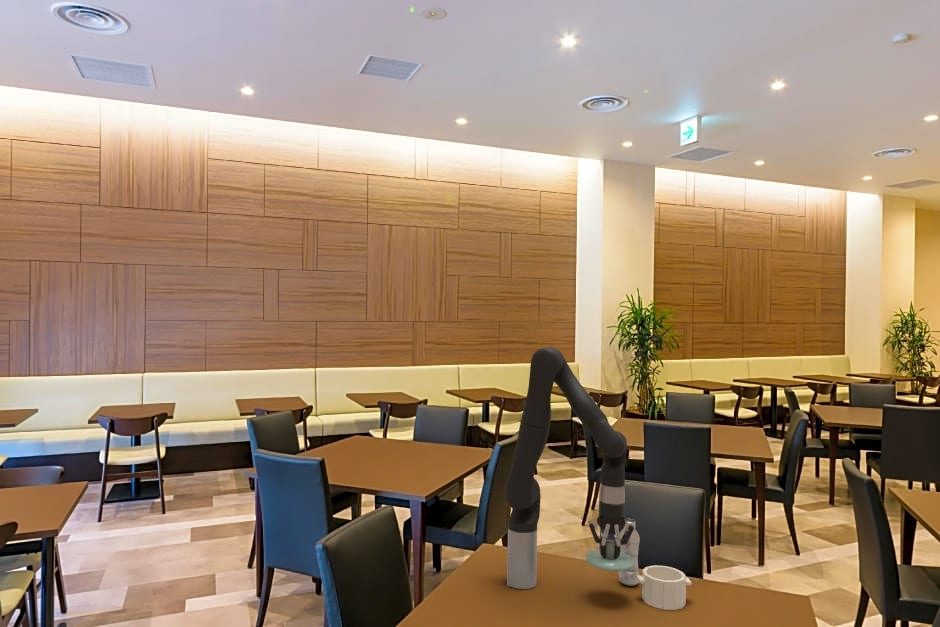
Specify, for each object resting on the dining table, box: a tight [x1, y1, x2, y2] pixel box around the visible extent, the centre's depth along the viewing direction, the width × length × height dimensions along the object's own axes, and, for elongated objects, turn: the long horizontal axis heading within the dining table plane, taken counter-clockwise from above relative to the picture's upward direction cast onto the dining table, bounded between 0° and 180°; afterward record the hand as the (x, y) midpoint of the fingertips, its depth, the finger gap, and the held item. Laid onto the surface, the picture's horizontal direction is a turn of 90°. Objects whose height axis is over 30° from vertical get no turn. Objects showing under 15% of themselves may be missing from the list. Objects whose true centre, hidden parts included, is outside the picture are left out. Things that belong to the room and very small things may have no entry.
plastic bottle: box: [618, 518, 641, 587], centre depth 193 cm, size 6×7×20 cm
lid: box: [585, 539, 634, 572], centre depth 182 cm, size 14×14×6 cm
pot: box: [637, 564, 693, 611], centre depth 182 cm, size 15×12×8 cm
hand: (609, 557), depth 182 cm, fingers closed on lid, 3 cm apart
